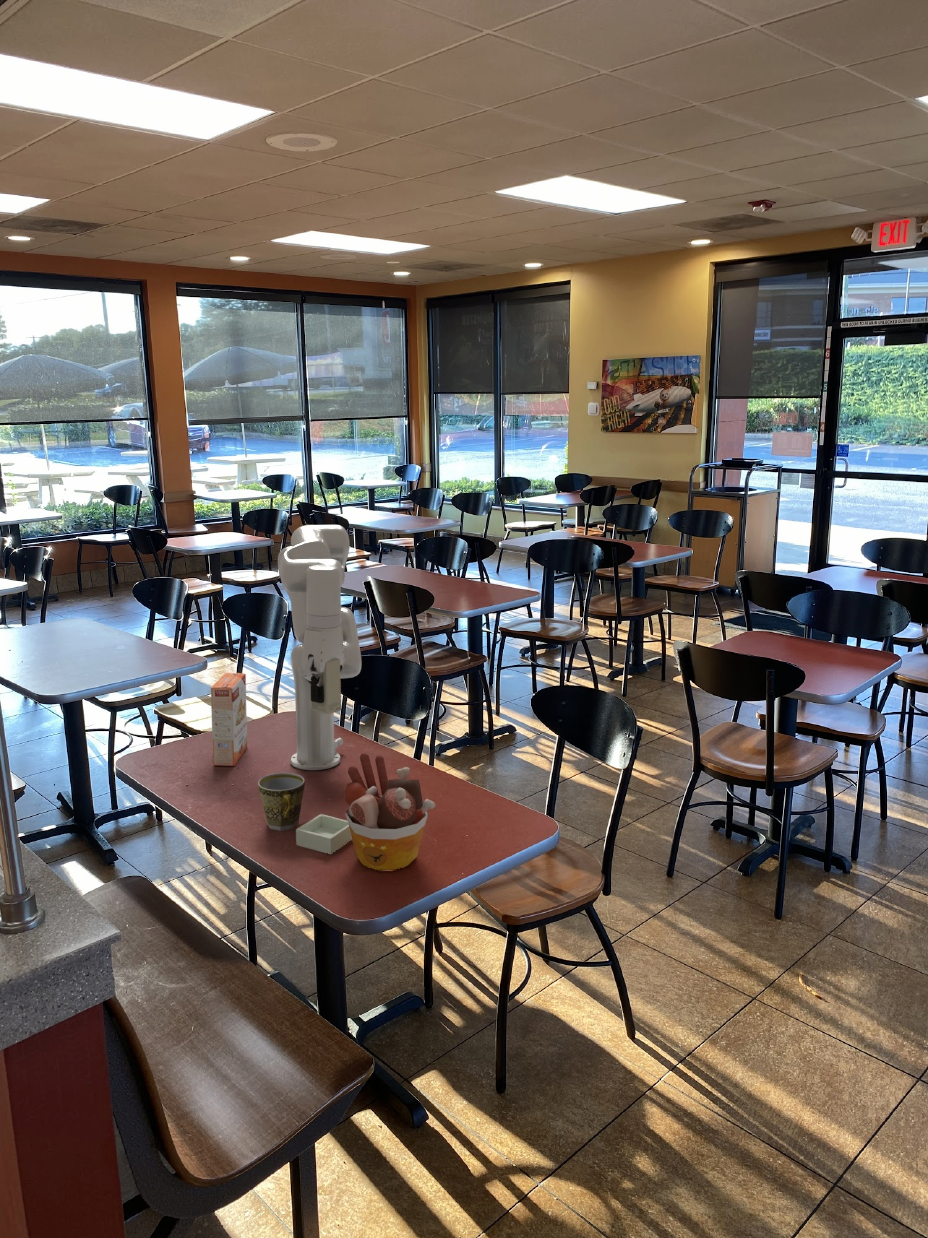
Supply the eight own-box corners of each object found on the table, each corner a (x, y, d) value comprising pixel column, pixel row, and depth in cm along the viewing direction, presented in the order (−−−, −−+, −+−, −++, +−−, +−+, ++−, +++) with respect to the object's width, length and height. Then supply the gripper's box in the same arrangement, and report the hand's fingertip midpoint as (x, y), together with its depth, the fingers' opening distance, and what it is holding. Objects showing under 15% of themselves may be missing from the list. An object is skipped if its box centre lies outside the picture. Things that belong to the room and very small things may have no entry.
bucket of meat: (446, 868, 184) (448, 774, 179) (373, 890, 175) (372, 792, 170) (396, 830, 200) (397, 743, 196) (327, 848, 191) (325, 757, 187)
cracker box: (236, 767, 233) (233, 687, 229) (212, 766, 234) (208, 687, 229) (249, 747, 247) (246, 672, 243) (226, 747, 247) (223, 671, 243)
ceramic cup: (255, 818, 204) (253, 776, 202) (300, 811, 208) (299, 770, 206) (267, 843, 193) (266, 798, 191) (314, 835, 197) (313, 791, 195)
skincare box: (341, 711, 210) (341, 659, 207) (326, 715, 207) (326, 662, 204) (323, 704, 214) (323, 654, 211) (308, 709, 211) (308, 657, 208)
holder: (321, 829, 200) (321, 814, 199) (354, 837, 196) (354, 822, 195) (296, 845, 192) (296, 829, 192) (330, 854, 188) (330, 838, 188)
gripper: (332, 611, 215) (333, 686, 219) (286, 626, 200) (288, 706, 204) (359, 615, 211) (360, 691, 215) (314, 630, 197) (316, 711, 201)
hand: (325, 697), depth 210 cm, fingers closed on skincare box, 5 cm apart
